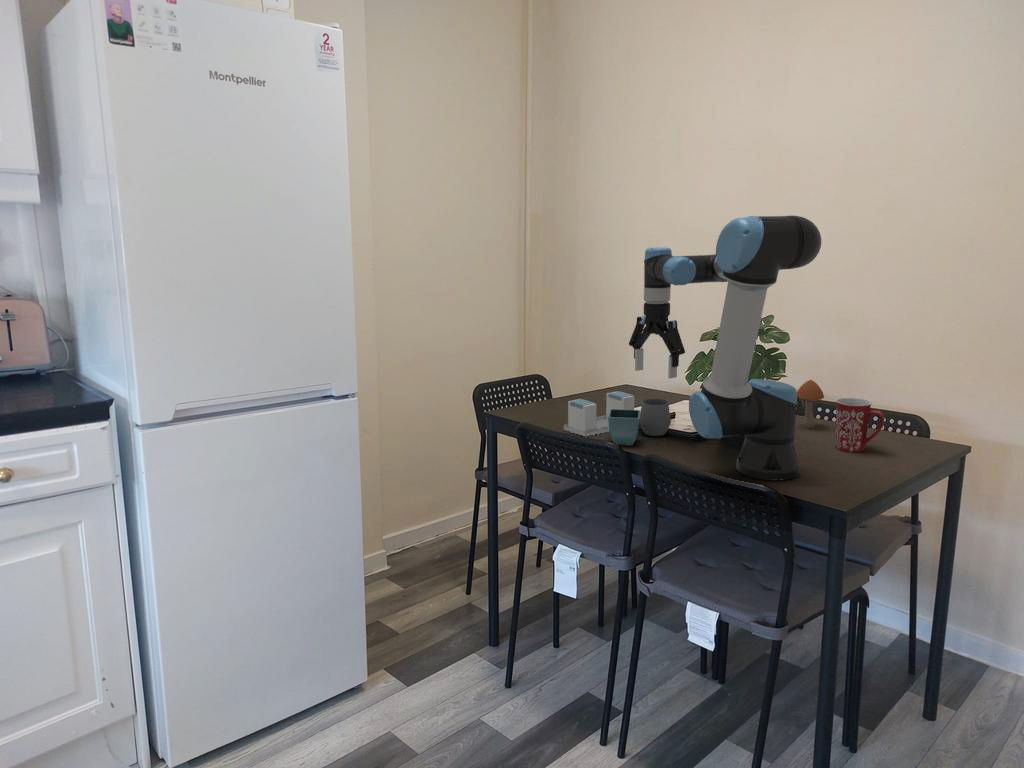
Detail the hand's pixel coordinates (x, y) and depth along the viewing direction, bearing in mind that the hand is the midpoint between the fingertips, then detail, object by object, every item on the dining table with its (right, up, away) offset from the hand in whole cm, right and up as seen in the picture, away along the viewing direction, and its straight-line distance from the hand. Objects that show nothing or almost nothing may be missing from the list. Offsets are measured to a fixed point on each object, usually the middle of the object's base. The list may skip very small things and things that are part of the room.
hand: (655, 373), depth 209 cm
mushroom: (+48, -16, +7) cm, 51 cm away
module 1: (-21, -16, +8) cm, 28 cm away
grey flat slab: (-14, -16, +12) cm, 25 cm away
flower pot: (-10, -20, -4) cm, 23 cm away
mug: (+52, -21, -14) cm, 58 cm away
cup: (+1, -18, +4) cm, 19 cm away
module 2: (-8, -14, +16) cm, 23 cm away
